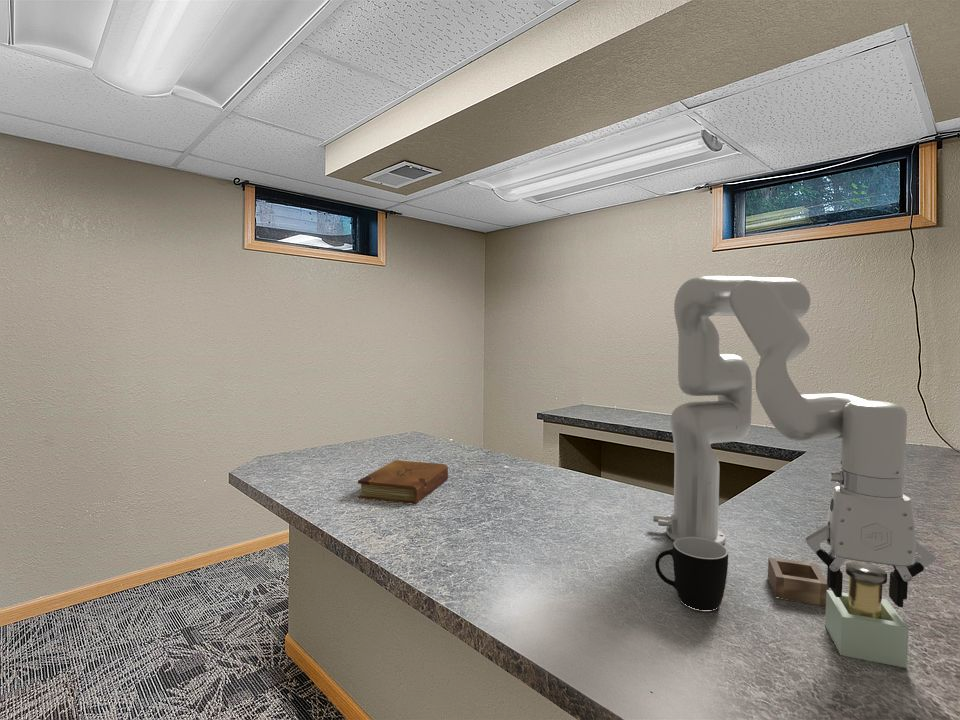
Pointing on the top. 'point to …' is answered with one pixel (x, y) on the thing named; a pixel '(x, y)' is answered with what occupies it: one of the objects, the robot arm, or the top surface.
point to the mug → (697, 571)
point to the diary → (403, 481)
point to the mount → (797, 581)
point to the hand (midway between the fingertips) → (865, 596)
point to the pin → (865, 589)
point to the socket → (867, 632)
